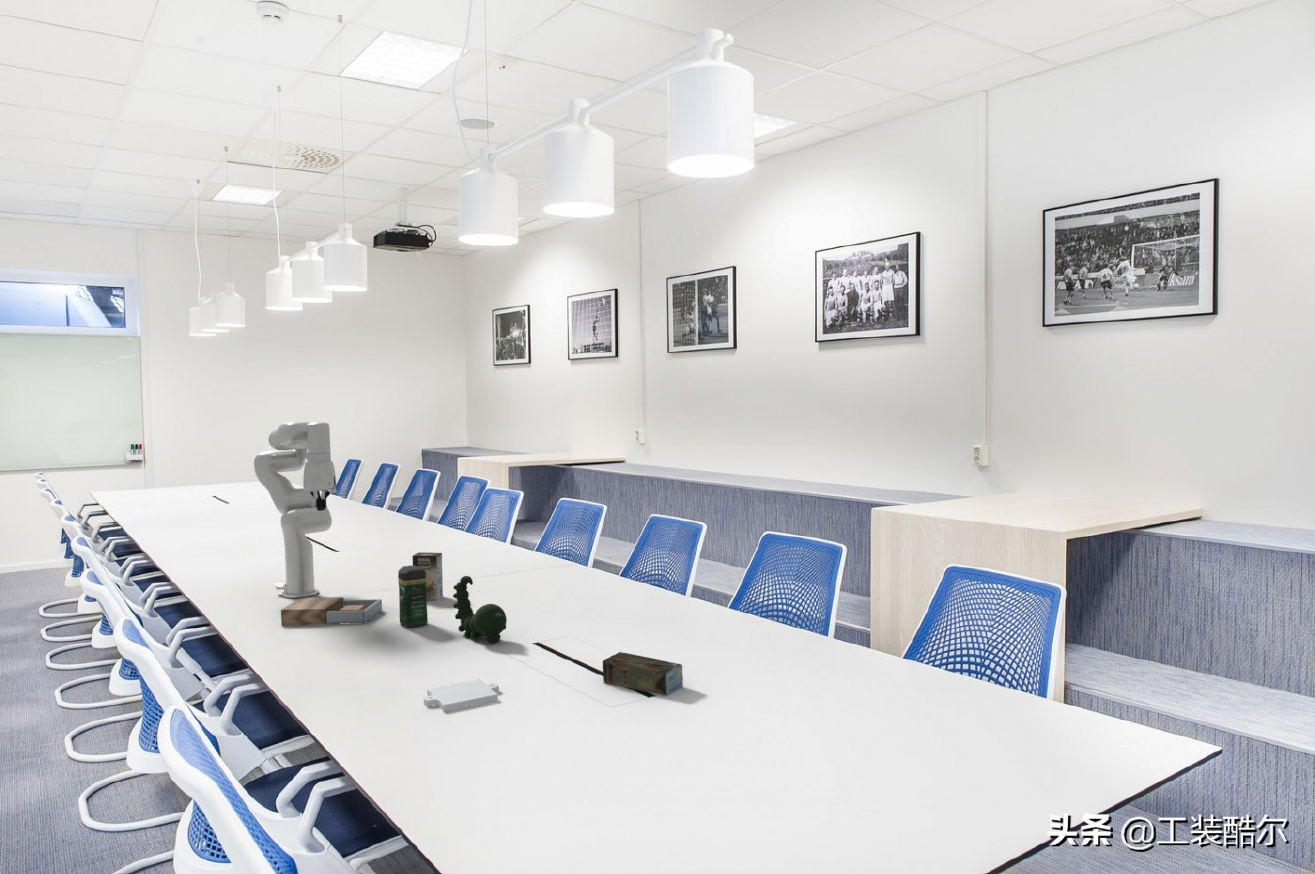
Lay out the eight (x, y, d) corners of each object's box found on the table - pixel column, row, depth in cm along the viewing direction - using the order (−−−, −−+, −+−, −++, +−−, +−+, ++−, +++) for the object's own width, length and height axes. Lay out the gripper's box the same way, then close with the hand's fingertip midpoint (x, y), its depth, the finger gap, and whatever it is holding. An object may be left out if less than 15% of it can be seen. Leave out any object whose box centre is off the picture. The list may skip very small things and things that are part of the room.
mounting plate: (488, 684, 216) (488, 677, 216) (507, 699, 205) (507, 691, 205) (416, 698, 207) (416, 691, 206) (432, 715, 195) (432, 707, 195)
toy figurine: (448, 639, 261) (492, 649, 242) (443, 577, 261) (486, 581, 243) (475, 633, 267) (520, 642, 249) (470, 572, 267) (515, 576, 249)
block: (357, 609, 279) (358, 618, 279) (364, 604, 285) (364, 613, 285) (339, 609, 279) (339, 619, 279) (346, 605, 285) (346, 614, 285)
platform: (281, 625, 275) (280, 609, 275) (302, 612, 291) (301, 597, 291) (325, 624, 275) (324, 608, 275) (343, 611, 291) (343, 596, 291)
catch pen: (325, 624, 275) (324, 611, 275) (343, 611, 291) (343, 599, 291) (365, 623, 275) (365, 611, 275) (382, 610, 291) (381, 599, 291)
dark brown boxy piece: (666, 697, 203) (665, 670, 203) (601, 684, 214) (600, 658, 213) (684, 687, 210) (683, 660, 210) (619, 675, 220) (619, 649, 220)
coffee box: (412, 600, 305) (410, 555, 304) (419, 596, 311) (417, 552, 311) (437, 600, 304) (436, 555, 303) (444, 596, 310) (442, 552, 310)
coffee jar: (431, 625, 271) (429, 567, 270) (406, 629, 267) (403, 570, 266) (421, 619, 279) (419, 562, 278) (397, 623, 275) (394, 565, 274)
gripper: (293, 459, 297) (295, 512, 298) (336, 458, 297) (338, 511, 298) (302, 457, 304) (304, 509, 305) (344, 456, 304) (346, 508, 305)
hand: (321, 510), depth 301 cm, fingers closed
